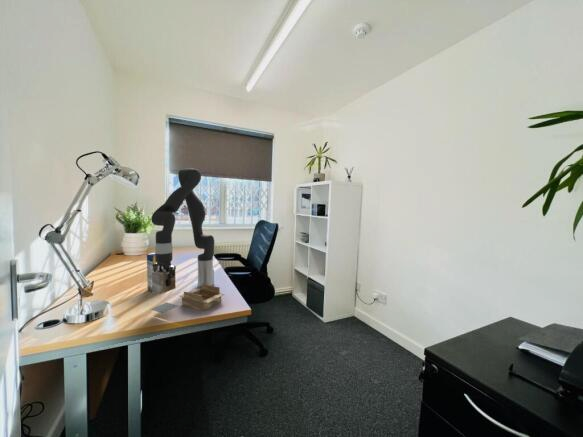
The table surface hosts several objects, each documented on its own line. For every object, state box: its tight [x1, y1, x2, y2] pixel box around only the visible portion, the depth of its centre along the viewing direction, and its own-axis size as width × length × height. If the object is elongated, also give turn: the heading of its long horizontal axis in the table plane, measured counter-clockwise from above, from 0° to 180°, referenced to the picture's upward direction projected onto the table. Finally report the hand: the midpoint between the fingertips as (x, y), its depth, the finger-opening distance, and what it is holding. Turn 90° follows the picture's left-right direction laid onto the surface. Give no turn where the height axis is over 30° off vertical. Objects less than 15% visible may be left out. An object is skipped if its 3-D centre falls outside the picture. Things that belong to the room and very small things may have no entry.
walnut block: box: [151, 271, 176, 295], centre depth 115 cm, size 9×5×10 cm, turn 156°
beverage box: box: [146, 252, 157, 292], centre depth 143 cm, size 7×11×22 cm, turn 151°
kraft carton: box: [179, 284, 225, 312], centre depth 121 cm, size 13×19×8 cm
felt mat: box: [150, 301, 179, 314], centre depth 116 cm, size 9×9×1 cm
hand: (164, 284), depth 115 cm, fingers closed on walnut block, 5 cm apart
